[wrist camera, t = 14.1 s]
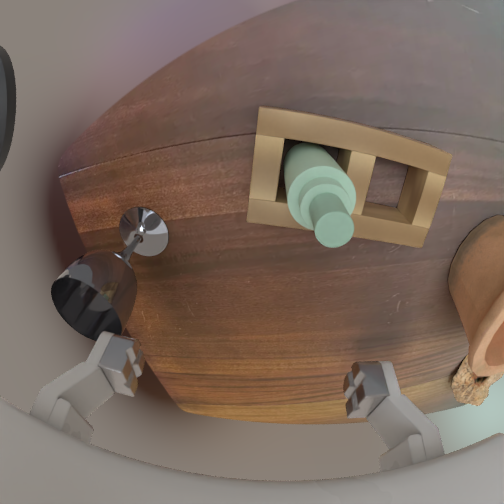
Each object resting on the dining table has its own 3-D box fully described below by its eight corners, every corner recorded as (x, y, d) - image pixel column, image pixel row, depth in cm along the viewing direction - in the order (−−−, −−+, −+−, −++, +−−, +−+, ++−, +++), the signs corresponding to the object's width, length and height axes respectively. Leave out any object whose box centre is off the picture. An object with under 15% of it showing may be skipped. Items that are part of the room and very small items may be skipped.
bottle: (286, 138, 27) (299, 180, 14) (335, 147, 27) (387, 197, 14) (279, 184, 30) (283, 261, 17) (326, 192, 30) (361, 271, 17)
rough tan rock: (465, 326, 49) (478, 339, 41) (504, 332, 45) (518, 344, 38) (437, 390, 52) (444, 407, 45) (476, 391, 48) (486, 407, 41)
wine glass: (179, 218, 33) (126, 302, 20) (163, 267, 37) (119, 353, 24) (122, 194, 31) (48, 262, 19) (113, 244, 36) (54, 319, 23)
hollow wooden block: (261, 105, 25) (259, 107, 22) (432, 145, 25) (452, 155, 21) (249, 204, 31) (246, 222, 27) (407, 229, 31) (421, 248, 27)
